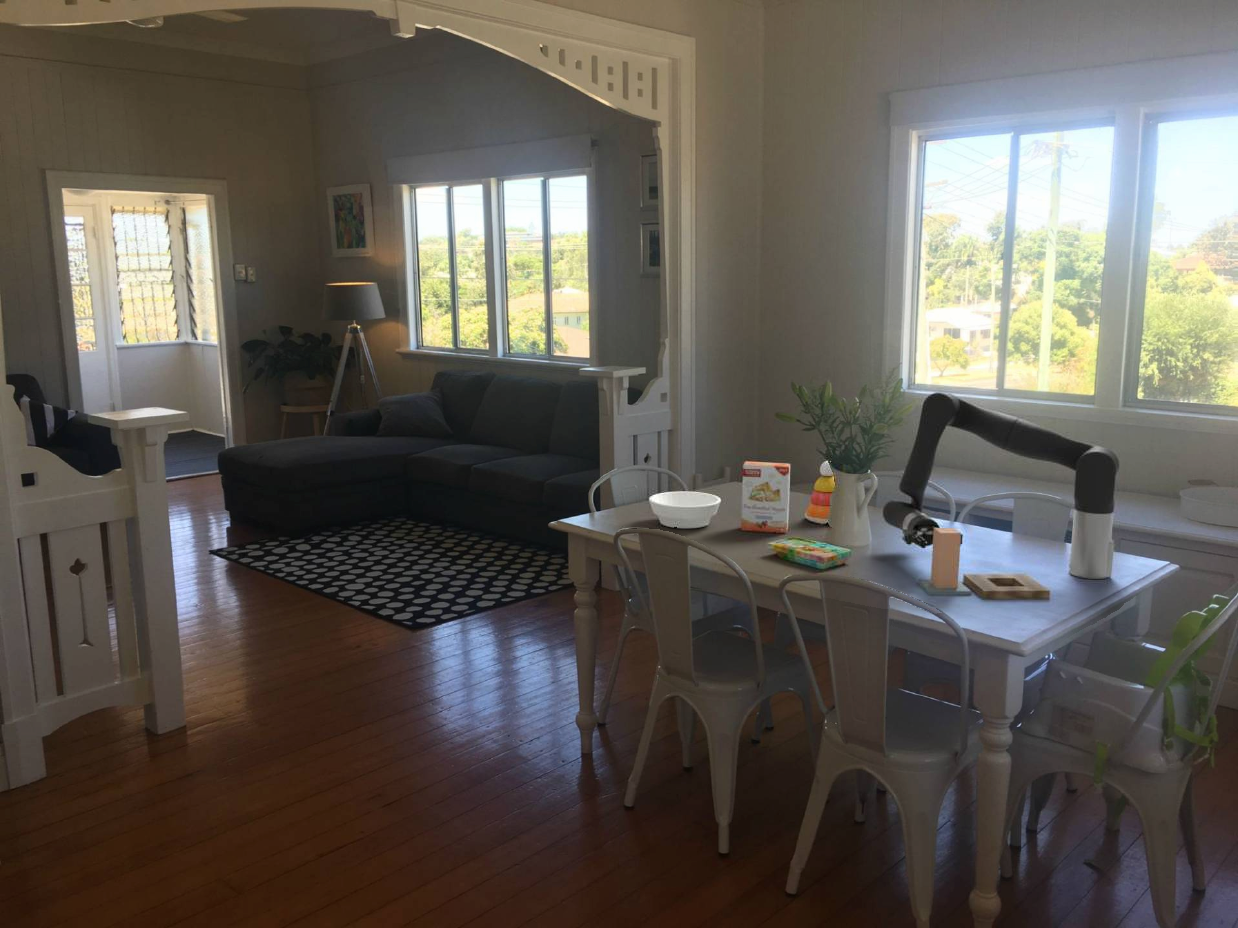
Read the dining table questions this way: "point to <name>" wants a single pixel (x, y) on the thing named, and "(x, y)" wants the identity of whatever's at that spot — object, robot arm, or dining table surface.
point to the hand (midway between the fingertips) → (941, 544)
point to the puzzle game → (810, 552)
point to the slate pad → (933, 590)
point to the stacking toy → (821, 496)
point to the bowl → (684, 508)
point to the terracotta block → (945, 557)
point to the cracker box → (765, 497)
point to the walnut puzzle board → (1018, 587)
